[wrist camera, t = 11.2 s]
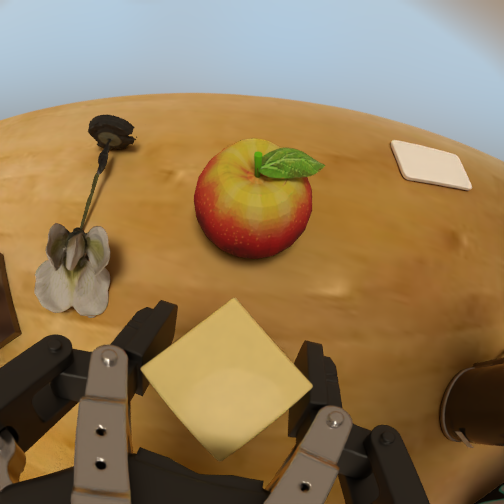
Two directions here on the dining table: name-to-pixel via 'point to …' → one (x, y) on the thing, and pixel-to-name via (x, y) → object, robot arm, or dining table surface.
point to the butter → (226, 380)
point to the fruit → (255, 197)
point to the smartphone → (430, 165)
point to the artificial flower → (82, 242)
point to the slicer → (6, 310)
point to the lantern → (493, 496)
